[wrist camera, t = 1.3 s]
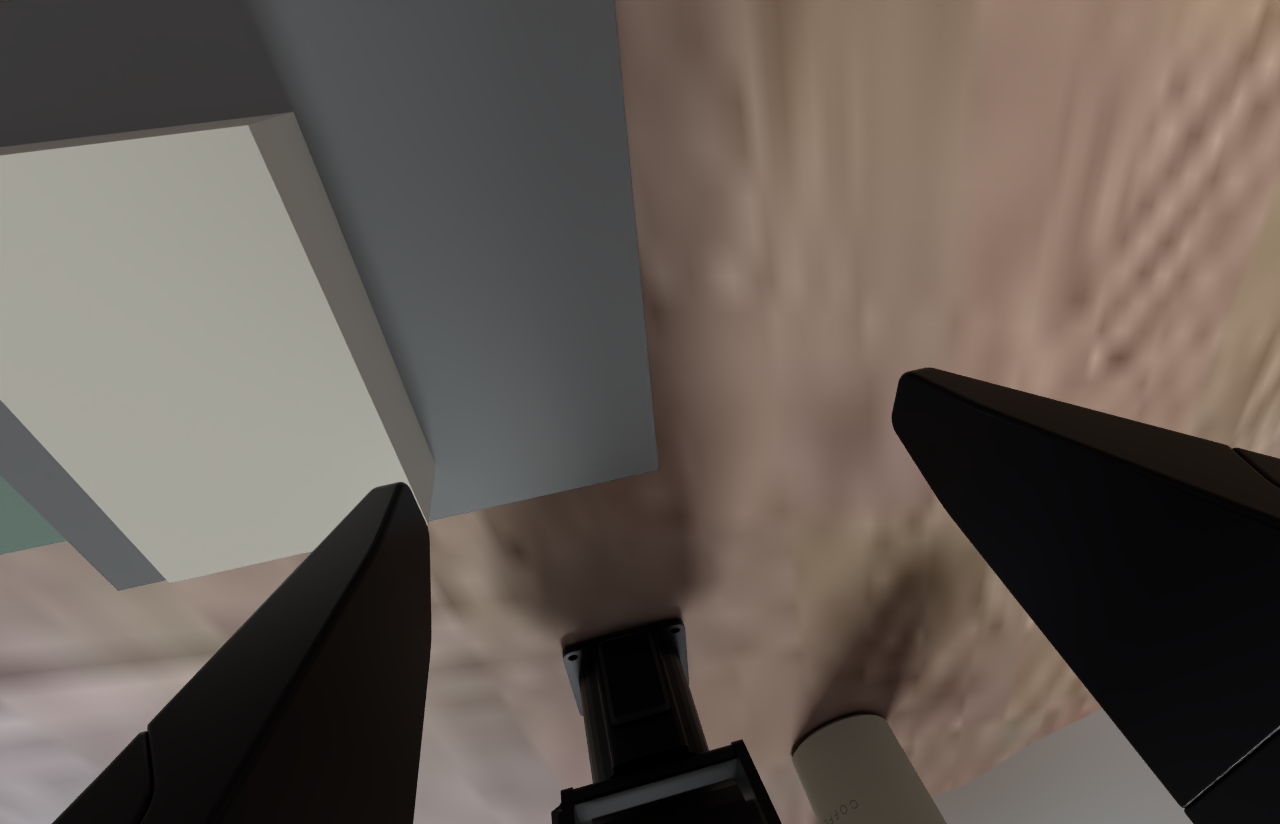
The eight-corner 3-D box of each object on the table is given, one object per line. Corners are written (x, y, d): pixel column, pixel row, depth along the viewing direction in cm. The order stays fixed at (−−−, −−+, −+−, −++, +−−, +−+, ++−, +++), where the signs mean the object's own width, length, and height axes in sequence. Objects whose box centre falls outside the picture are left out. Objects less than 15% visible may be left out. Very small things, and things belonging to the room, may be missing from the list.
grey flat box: (632, 404, 21) (658, 469, 18) (183, 497, 19) (118, 590, 15) (580, -27, 13) (609, -53, 10) (-174, 43, 11) (-443, 40, 8)
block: (435, 466, 16) (428, 525, 14) (211, 513, 15) (169, 583, 13) (293, 111, 10) (248, 125, 8) (-63, 154, 10) (-202, 180, 8)
